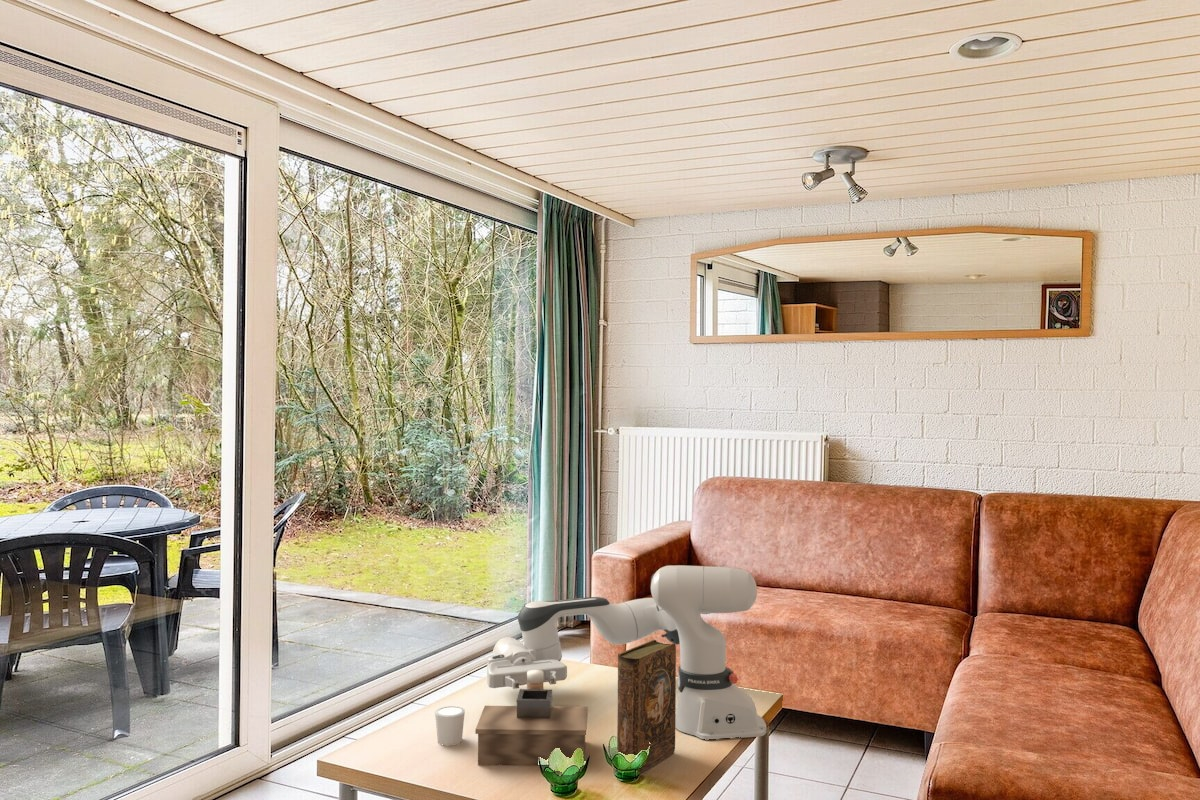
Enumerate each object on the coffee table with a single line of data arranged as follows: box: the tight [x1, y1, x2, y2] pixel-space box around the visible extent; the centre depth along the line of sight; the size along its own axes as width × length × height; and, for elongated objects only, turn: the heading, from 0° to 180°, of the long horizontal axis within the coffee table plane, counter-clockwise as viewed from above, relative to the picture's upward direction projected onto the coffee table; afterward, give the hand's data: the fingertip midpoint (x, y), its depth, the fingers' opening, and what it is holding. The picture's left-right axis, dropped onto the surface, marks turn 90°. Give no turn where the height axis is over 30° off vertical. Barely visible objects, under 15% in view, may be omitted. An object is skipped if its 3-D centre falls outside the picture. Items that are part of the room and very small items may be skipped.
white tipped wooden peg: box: [526, 670, 544, 689], centre depth 211 cm, size 4×4×13 cm
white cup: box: [434, 705, 466, 746], centre depth 202 cm, size 7×7×7 cm
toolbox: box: [475, 688, 588, 767], centre depth 195 cm, size 24×14×12 cm, turn 90°
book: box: [616, 639, 677, 776], centre depth 190 cm, size 16×6×25 cm, turn 144°
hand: (535, 683), depth 211 cm, fingers open, 8 cm apart
